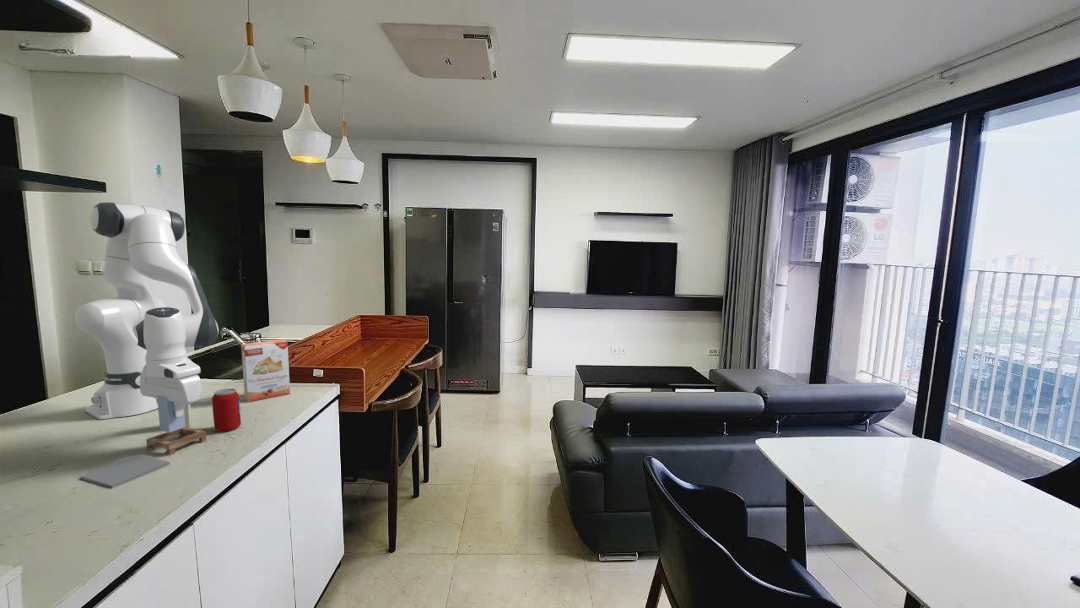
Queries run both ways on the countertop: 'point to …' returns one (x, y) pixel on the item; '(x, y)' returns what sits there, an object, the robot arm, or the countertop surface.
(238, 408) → the beverage can
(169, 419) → the peg
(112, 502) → the countertop surface
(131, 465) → the mat
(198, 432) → the wooden square frame
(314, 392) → the countertop surface
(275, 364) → the cracker box
